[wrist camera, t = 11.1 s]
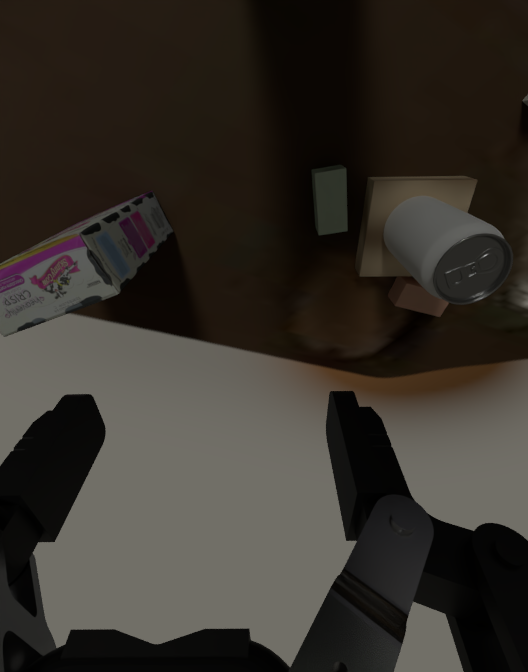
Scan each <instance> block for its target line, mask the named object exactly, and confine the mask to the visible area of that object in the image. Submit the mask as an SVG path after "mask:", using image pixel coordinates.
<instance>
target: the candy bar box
mask: <svg viewBox="0 0 528 672" xmlns="http://www.w3.org/2000/svg"><path fill="white" fill-rule="evenodd" d="M172 233H173V229H172V227H171V225H170V223H169V222H168V220H167V218H166V216H165V214H164V212H163V210H162V208H161V206H160V204H159V202H158V200H157V198H156V196H155V195H154V193H153V191H150V192H147V193H145V194H143V195H140V196H138V197H135V198H133V199H131V200H128V201H126V202H123V203H121V204H119V205H116V206H114V207H112V208H109V209H107V210H105V211H103V212H100V213H98V214H96V215H94V216H92V217H89V218H87V219H85V220H83V221H81V222H79V223H77V224H75V225H73V226H71V227H69V228H67V229H65V230H63V231H62V232H60V233H58V234H56V235H54V236H52V237H50V238H48V239H46V240H45V241H43V242H41V243H39V244H37V245H35V246H33V247H31V248H30V249H28V250H26V251H24V252H22V253H20V254H18V255H16V256H14V257H12V258H10V259H9V260H6V261H4V262H3V263H1V264H0V333H1V334H2V335H3V336H4V337H5V336H8V335H11V334H14V333H16V332H18V331H22V330H25V329H27V328H30V327H33V326H35V325H38V324H41V323H44V322H46V321H49V320H52V319H54V318H57V317H60V316H63V315H65V314H68V313H71V312H73V311H76V310H79V309H81V308H84V307H86V306H89V305H92V304H94V303H97V302H100V301H102V300H105V299H107V298H110V297H113V296H115V295H118V294H120V292H121V291H122V289H123V288H124V287H125V286H126V285H127V284H128V282H129V281H130V280H131V279H132V278H133V277H134V276H135V275H136V273H137V272H138V271H139V270H140V269H141V268H142V267H143V266H144V264H145V263H146V262H147V261H148V260H149V259H150V257H151V256H152V255H153V254H154V253H155V252H156V251H157V249H158V248H159V247H160V246H161V245H162V244H163V243H164V242H165V241H166V239H167V238H168V237H169V236H170V235H171V234H172Z"/></svg>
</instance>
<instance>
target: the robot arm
mask: <svg viewBox="0 0 528 672" xmlns="http://www.w3.org/2000/svg"><path fill="white" fill-rule="evenodd" d="M326 436H327V443H328V448H329V453H330V459H331V463H332V469H333V474H334V479H335V484H336V489H337V495H338V500H339V505H340V511H341V516H342V521H343V526H344V531H345V537H346V541H355V540H356V541H357V543H356V545H355V546H354V549H353V550H352V553H351V555H350V557H349V559H348V561H347V563H346V565H345V567H344V569H343V570H342V572H341V574H340V575H338V576H337V578H336V579H335V581H334V583H333V585H332V586H331V588H330V590H329V592H328V594H327V596H326V598H325V600H324V602H323V604H322V606H321V608H320V610H319V612H318V614H317V616H316V618H315V620H314V622H313V624H312V626H311V628H310V630H309V632H308V634H307V636H306V638H305V640H304V642H303V644H302V646H301V648H300V650H299V652H298V654H297V656H296V658H295V660H294V662H293V664H292V666H291V668H290V667H289V666H288V665H287V664H286V663H285V662H284V661H283V660H282V659H281V658H280V657H279V656H278V655H276V654H275V653H274V652H273V651H271V650H270V649H268V648H266V647H264V646H263V645H261V644H259V643H256V642H254V641H251V639H250V632H249V629H204V630H201V631H198V632H195V633H192V634H189V635H186V636H183V637H180V638H177V639H174V640H171V641H168V642H165V643H162V644H158V645H157V644H151V643H149V642H146V641H144V640H141V639H138V638H136V637H133V636H130V635H128V634H125V633H122V632H120V631H117V630H113V629H112V630H71V631H70V634H69V636H68V639H67V642H66V644H65V645H63V646H61V647H59V648H56V645H55V642H54V639H53V637H52V635H51V632H50V630H49V628H48V626H47V623H46V620H45V616H44V610H43V604H42V598H41V592H40V585H39V579H38V573H37V567H36V561H35V557H34V555H33V551H34V549H35V547H36V545H37V543H38V542H55V540H56V538H57V536H58V534H59V532H60V530H61V528H62V526H63V524H64V522H65V520H66V518H67V516H68V514H69V512H70V510H71V507H72V506H73V503H74V502H75V500H76V498H77V495H78V493H79V491H80V489H81V487H82V485H83V483H84V481H85V479H86V477H87V475H88V473H89V471H90V469H91V467H92V465H93V463H94V461H95V459H96V457H97V455H98V453H99V451H100V448H101V447H102V445H103V442H104V439H105V425H104V422H103V420H102V417H101V415H100V413H99V410H98V407H97V405H96V403H95V400H94V398H93V397H92V395H89V394H75V395H74V394H73V395H65V396H64V397H62V398H61V400H60V401H59V402H58V404H57V405H56V407H55V408H54V409H53V411H47V412H46V413H45V414H43V415H42V416H41V417H40V418H38V419H37V420H36V421H34V422H33V423H32V425H31V426H30V427H29V429H28V430H27V431H26V433H25V434H24V435H23V438H22V439H21V440H20V441H19V442H18V443H17V444H16V446H15V447H14V451H11V452H10V454H9V455H8V456H7V458H6V459H5V460H4V462H3V463H2V464H1V466H0V672H394V668H395V665H396V662H397V659H398V656H399V653H400V650H401V646H402V643H403V639H404V636H405V632H406V622H407V618H408V615H409V612H410V609H411V606H412V603H413V602H416V603H419V604H421V605H424V606H427V607H429V608H432V609H434V610H437V611H440V612H442V613H445V614H446V617H447V620H448V623H449V626H450V629H451V633H452V636H453V639H454V642H455V645H456V648H457V652H458V655H459V658H460V661H461V664H462V668H463V671H464V672H528V541H527V540H526V539H525V538H524V537H523V536H521V535H520V534H519V533H517V532H516V531H514V530H512V529H510V528H508V527H506V526H503V525H500V524H495V523H485V524H482V525H480V526H478V527H477V529H475V531H472V530H469V529H465V528H462V527H459V526H455V525H452V524H449V523H445V522H443V521H440V520H438V519H436V518H434V517H432V516H431V515H429V514H428V513H426V511H425V510H424V509H423V508H422V507H421V506H420V505H419V504H418V503H416V502H415V500H414V499H413V497H412V496H411V493H410V491H409V489H408V486H407V484H406V481H405V478H404V476H403V473H402V471H401V468H400V466H399V463H398V460H397V458H396V455H395V453H394V450H393V448H392V447H391V442H390V440H389V437H388V436H387V432H386V430H385V427H384V424H383V422H382V419H381V418H380V417H379V416H378V415H377V414H376V412H375V411H374V410H373V409H372V408H371V407H359V405H358V402H357V400H356V397H355V393H354V392H353V391H331V392H330V395H329V404H328V412H327V420H326Z"/></svg>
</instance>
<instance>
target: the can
mask: <svg viewBox="0 0 528 672" xmlns="http://www.w3.org/2000/svg"><path fill="white" fill-rule="evenodd" d="M383 236H384V242H385V245H386V247H387V248H388V250H389V251H390V252H391V253H392V254H393V256H394V257H395V258H396V259H397V260H398V261H399V262H400V263H401V264H402V265H403V267H404V268H405V269H406V270H407V271H408V272H409V273H410V274H411V275H412V276H413V277H414V278H415V279H416V280H417V281H418V283H419V284H420V285H421V286H422V287H423V288H424V289H425V290H426V291H427V292H429V293H430V294H431V295H433V296H435V297H437V298H439V299H443V300H445V301H447V302H449V303H452V304H470V303H474V302H477V301H479V300H482V299H484V298H486V297H487V296H489V295H490V294H492V293H493V292H494V291H496V290H497V289H498V288H499V287H500V286H501V285H502V283H503V282H504V281H505V280H506V278H507V276H508V275H509V273H510V270H511V267H512V263H513V253H512V249H511V247H510V245H509V244H508V242H507V241H506V240H505V239H504V237H503V235H502V234H501V233H500V231H499V230H497V229H496V228H495V227H494V226H492V225H490V224H488V223H486V222H484V221H482V220H480V219H478V218H476V217H474V216H472V215H470V214H468V213H466V212H464V211H462V210H459V209H457V208H455V207H453V206H451V205H449V204H447V203H444V202H442V201H440V200H438V199H435V198H433V197H429V196H416V197H412V198H409V199H407V200H405V201H404V202H402V203H401V204H399V205H398V206H397V207H396V208H395V209H394V210H393V211H392V212H391V214H390V215H389V217H388V219H387V221H386V223H385V227H384V233H383Z"/></svg>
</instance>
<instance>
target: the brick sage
mask: <svg viewBox="0 0 528 672" xmlns="http://www.w3.org/2000/svg"><path fill="white" fill-rule="evenodd" d="M311 173H312V186H313V200H314V214H315V227H316V230H317V232H318V235H325V234H332V233H338V232H345V231H348V226H347V178H346V168H345V167H344V166H342V165H336V166H330V167H324V168H318V169H312V170H311Z"/></svg>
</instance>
